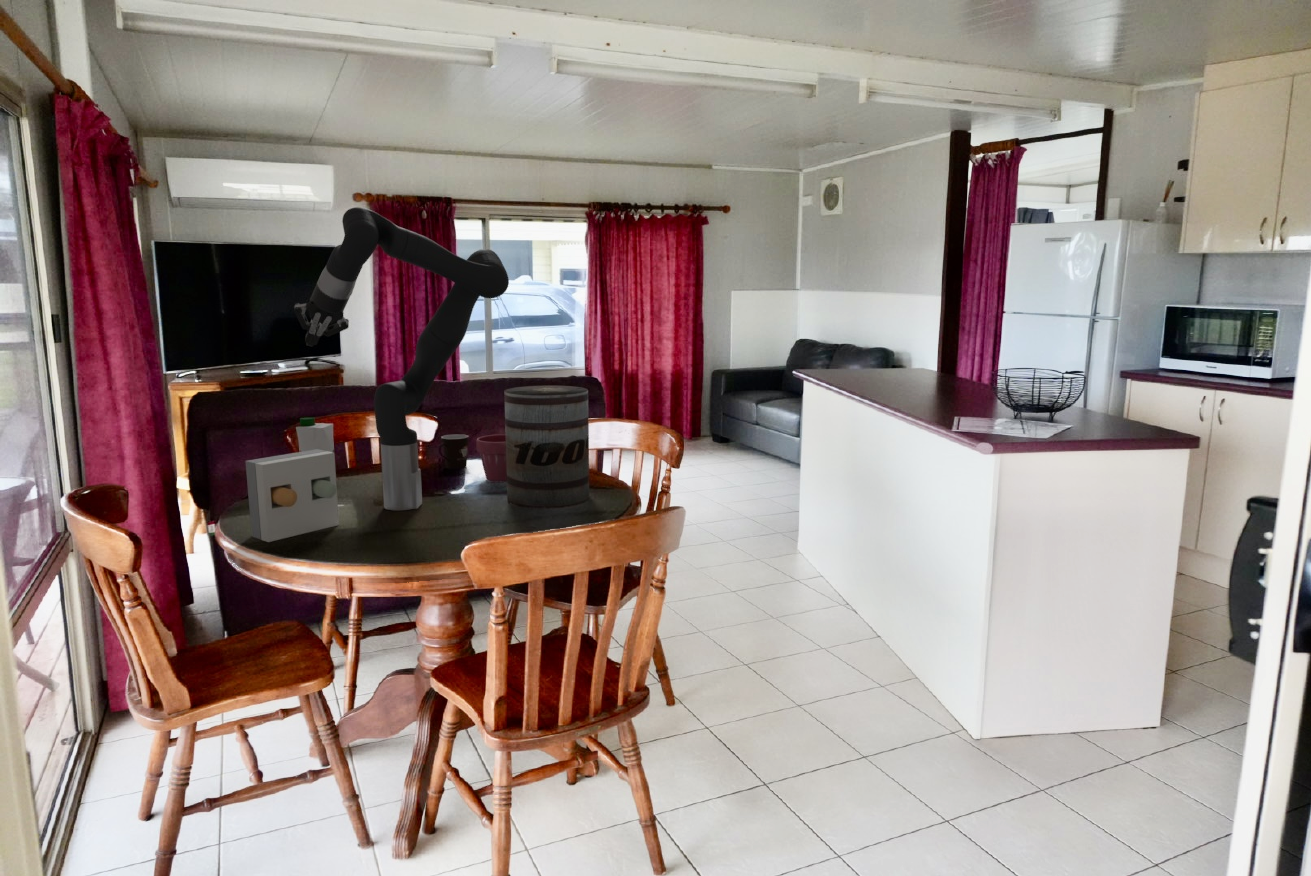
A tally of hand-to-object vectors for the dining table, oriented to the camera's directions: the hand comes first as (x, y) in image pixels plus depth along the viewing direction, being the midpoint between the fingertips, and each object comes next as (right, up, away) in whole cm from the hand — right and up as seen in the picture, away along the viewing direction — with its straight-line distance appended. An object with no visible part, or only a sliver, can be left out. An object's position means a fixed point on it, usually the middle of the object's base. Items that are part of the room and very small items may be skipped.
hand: (309, 343), depth 202 cm
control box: (-3, -45, +1) cm, 45 cm away
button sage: (+3, -36, +1) cm, 37 cm away
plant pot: (+36, -35, +55) cm, 75 cm away
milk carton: (-16, -37, +46) cm, 61 cm away
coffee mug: (+17, -32, +71) cm, 80 cm away
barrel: (+53, -39, +33) cm, 74 cm away
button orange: (-3, -38, -7) cm, 39 cm away
